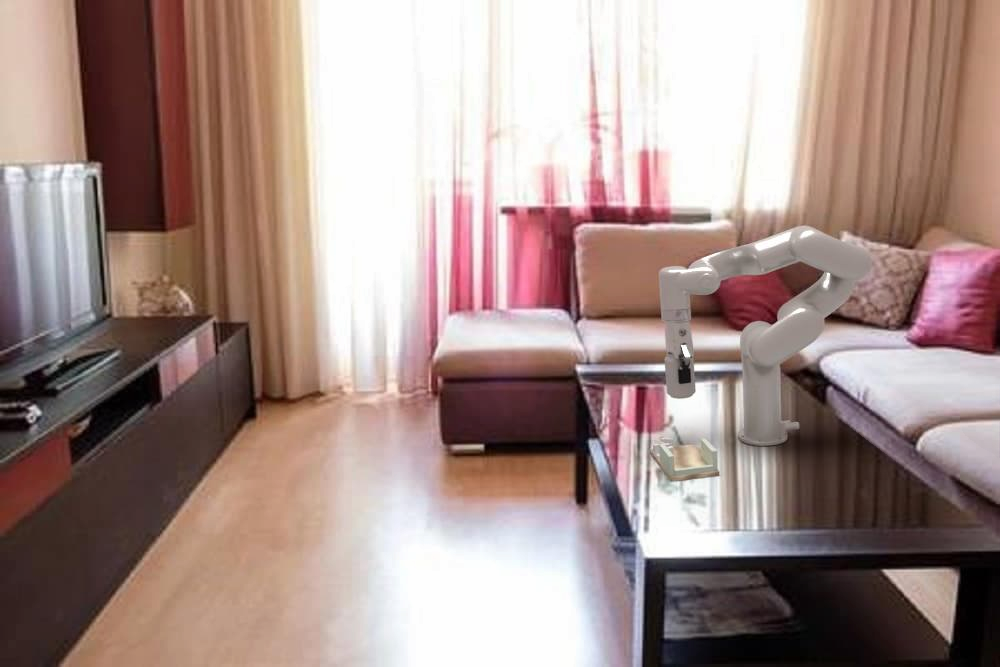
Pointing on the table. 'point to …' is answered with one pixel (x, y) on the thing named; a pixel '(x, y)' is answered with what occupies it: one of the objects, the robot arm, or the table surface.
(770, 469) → the table surface
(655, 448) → the clip
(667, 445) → the clip
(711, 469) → the bracket
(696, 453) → the board
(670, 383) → the can
